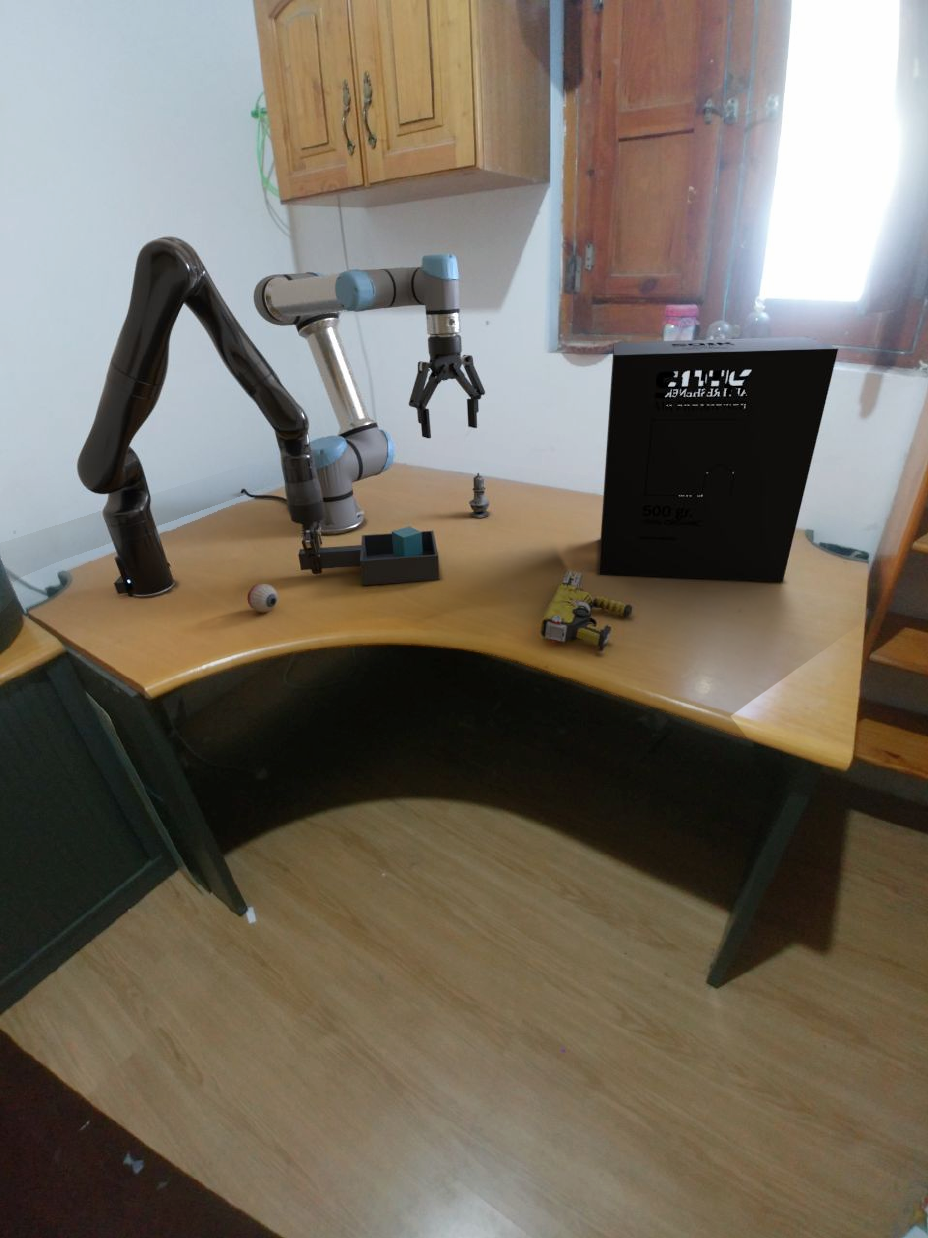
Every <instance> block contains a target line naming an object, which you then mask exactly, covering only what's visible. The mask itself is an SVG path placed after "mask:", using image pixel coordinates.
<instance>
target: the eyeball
mask: <svg viewBox="0 0 928 1238" xmlns="http://www.w3.org/2000/svg"><path fill="white" fill-rule="evenodd" d="M246 600H247V603H248V605H249V607H250V608H251V609H252V610H254V611H255V612H258V613H268V612H270V611H272V610H273V609H274V608H275V607H276V606H277V603H278V600H279V596H278V593H277V590H276V589H275V588H274V587H273V586H272V585H270V584H267V583H258V584H255V585H253V586H252V587H251V588H250V589H249V591H248V592H247V599H246Z"/></svg>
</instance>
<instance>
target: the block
mask: <svg viewBox="0 0 928 1238" xmlns="http://www.w3.org/2000/svg"><path fill="white" fill-rule="evenodd" d="M420 531H421V530H418V529H416V528H414V527H412V526H411V525H410V526H406V527H402V528H398V529H395V530H391V533H392V542H393V553H394V558H396V557H410V556H423V548H422V533H421V532H420Z"/></svg>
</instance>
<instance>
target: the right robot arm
mask: <svg viewBox="0 0 928 1238" xmlns="http://www.w3.org/2000/svg"><path fill="white" fill-rule="evenodd" d="M459 280H460V275H459V270H458V260H457V257H456V255H455V254H453V253H440V254H439V253H438V254H427V255H423V256H422V258H421V266H409V267H404V266H403V267H401V266H400V267H392V268H391V267H390V268H373V269H359V268H358V269H348V270H344V271H341V272H337V273H330V274H324V273H321V272H312V271H307V272H302V273H300V272H299V273H298V272H297V273H283V274H281V273H279V274H277V273H276V274H271V275H267V276H265V277H263V278H262V279H260V280H259V281H258V282H257V284H256V285H255V287H254V290H253V303H254V307H255V309H256V312H257V313H258V314H259V315H260V317H261V318H262V319H263V320H265V321H266V322H268V323H269V324H272V325H274V326H275V325H276V326H281V327H282V326H283V327H284V326H295V328H296V331H297V333H298V335H299V337H301V338H303V339H305V341H306V342H307V345H308V347H309V349H310V352H311V355H312V357H313V360H314V363H315V365H316V368H317V370H318V373H319V376H320V378H321V381H322V383H323V386H324V389H325V392H326V394H327V397H328V399H329V402H330V405H331V407H332V411H333V413H334V416H335V418H336V421H337V423H338V426H339V430H338V432H337V434H336V435H328V436H322V437H318V438H316V439H313V440H311V441H310V448H311V451H312V453H313V456H314V460H315V465H316V471H317V476H318V480H319V483H320V487H321V492H322V498H323V504H324V510H325V517H324V518H323V519H322V520H320V527H321V530H320V531H321V535H323V536H324V535H325V536H327V535H329V536H331V535H339V534H340V535H341V534H345V533H350V532H353V531H355V530H357V529H359V528H361V527H362V526H363V525H364V523H365V519H364V514H365V510H364V509H362V510H361V508H360V505H359V504H358V501H357V500H356V498H355V495H354V489H353V483H355V482H358V481H362V480H366V479H368V478H371V477H374V476H378V475H380V474H382V473H384V472H387V471H388V470H389V469H391V467H392V465H393V462H394V460H395V455H396V454H395V445H394V441H393V439H392V436H391V435H390V434H389V433H388V432H387V431H386V430H384V429H380V427H379V425H378V422H377V421H376V420H374V419H373V418H371V417H369V414H368V411H367V409H366V406H365V402H364V400H363V398H362V395H361V392H360V389H359V386H358V383H357V381H356V378H355V375H354V373H353V369H352V367H351V365H350V361H349V358H348V355H347V353H346V351H345V347H344V345H343V343H342V339H341V336H340V333H339V331H338V328H339V326H340V323H341V319H340V316H341V314H342V313H346V312H355V313H358V312H365V311H372V310H379V309H380V310H381V309H390V308H401V307H402V308H403V307H411V306H412V307H415V306H424V309H425V322H426V324H425V325H426V334H427V335H429V336H428V338H427V349H428V355H429V361H421V360H420V361H418V362H417V374H416V377H415V381H414V383H413V387H412V391H411V394H410V398H409V401H408V407H411V408H415V410H416V413H417V414H416V415H417V422H418V423H419V424H420V427H421V437H422V438H425V439H429V440H430V439H432V432H431V417H430V408H427V406H428V404H429V402H430V400H431V398H432V397H433V395H434V393H435V391H436V389H437V388H438V386H439V384H441V382H442V381H443V382H444V381H448V380H456V381H457V383H458V385H460V387H461V389H462V390H463V391H464V392H465V393H466V394H467V395H468V397H469V398H466V407H467V408H466V409H467V410H466V411H467V427H468V428H473V429H477V428H478V413H479V411H480V410H479V409H480V408H479V400H481V399H482V396H484V395H486V391H485V388H484V386H483V383H482V381H481V378H480V376H479V374H478V371H477V370H476V367H475V364H474V358H473V355H472V354H471V355H470V354H463V355H462V352H463V349H462V348H463V346H462V336H461V335H460V332H462V329H461V311H460V310H461V309H460V284H459V283H460V281H459ZM462 366H463V368H464V370H465V373H466V375H467V377H468V378H467V377H466V375H465V373H464V372H463V370H462V369H461V368H462ZM430 371H431V372H430ZM429 372H430V374H429ZM428 375H429V376H428ZM427 379H428V381H427ZM240 494H245V495H246V496H247V497H249V498H252V499H274V500H279V501H283V502H285V503H287V504H288V502H287V498H285V497H283V496H278V495H273V494H271V495H270V494H251V493H249V492H248V491H247V490H246V488H241V490H240Z"/></svg>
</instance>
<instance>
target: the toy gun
mask: <svg viewBox="0 0 928 1238" xmlns="http://www.w3.org/2000/svg"><path fill="white" fill-rule="evenodd" d="M573 573H574V572H573V570H568V571H566V573H565V576H564V578H563V580H562V581H561V583H560V584H559V585H558V588H557V590H556V591H555V592H554V593H555V594H554V595H553V597H552V599H551V602H550V603H549V605H548V608H547V610H546V611H545V614H544V616H543V618H542V620H541V626H540V635H541V637H542V638H544V639H547V640H548V642H549V643H552V642H553V643H554V644H558V643H559V642H561V643H570V642H574V641H575V640H577V639H579V640H581V641H584V642H588V643H591V644H593V645H595V646H598V651H600V652H603V651H604V649H605V648H606V646H607V645H608V644H609V641H610V636H611V631H612V627H611V626H609V625H608V624H606V625H605V626H604V627H603V629H602V628H600V627H597V625H598V623H597V620H596V619H595V618H593V617H592V614H591V611H592V610H593V609H594V608H596V609H601V610H602V611H607V612H608V613H613V614H614V615H620V616H621V617H624V618H630V616H631V614H632V612H633V606H632V605H631V604H627V603H621V602H620V601H617V602H616V601H615V600H613V599H612V600H610V599H609V598H604V597H602V596H599V595H598V596H596V598H594V600H593V598H592V596H591V594H590V593H589V592H586V591H582V590H580V588H581V583H582V578H583V576H582V573H581V572H578V571H577V572H576V573H575V574H573ZM572 576H573V578H572Z"/></svg>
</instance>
